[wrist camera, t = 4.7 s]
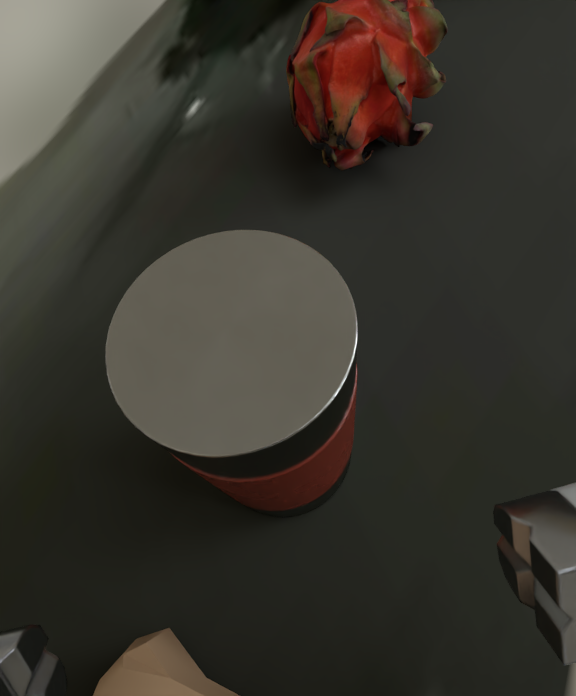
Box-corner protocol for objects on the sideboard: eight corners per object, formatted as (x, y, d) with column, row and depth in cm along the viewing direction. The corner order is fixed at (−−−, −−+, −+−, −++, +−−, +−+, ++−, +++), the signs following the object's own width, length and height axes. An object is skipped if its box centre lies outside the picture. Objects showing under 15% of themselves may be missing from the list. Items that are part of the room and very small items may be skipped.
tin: (372, 412, 21) (398, 266, 11) (319, 544, 18) (291, 510, 9) (254, 366, 22) (185, 203, 13) (193, 481, 20) (50, 394, 10)
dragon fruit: (401, 91, 32) (343, 231, 30) (303, 10, 30) (229, 156, 27) (499, -1, 25) (435, 177, 22) (380, -123, 22) (288, 63, 19)
